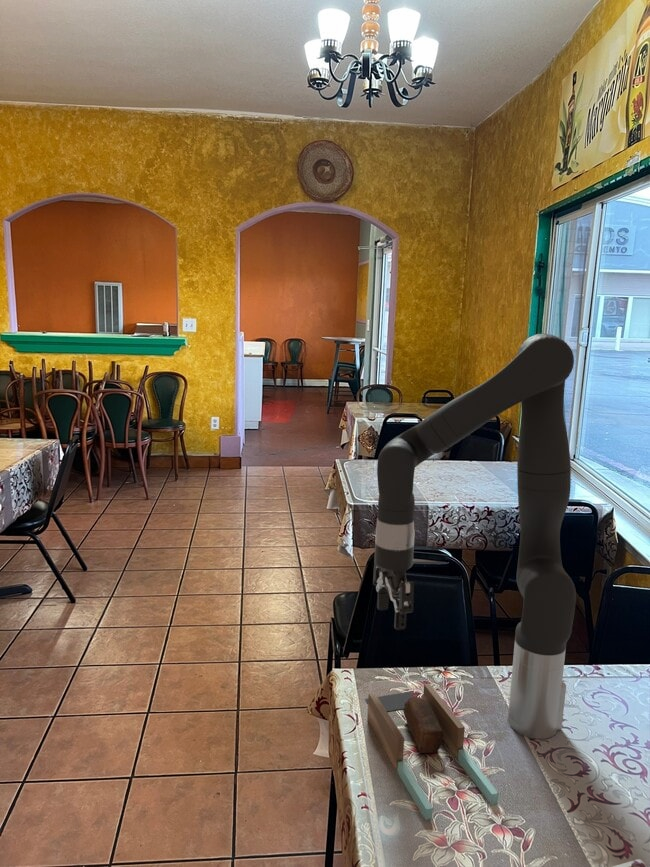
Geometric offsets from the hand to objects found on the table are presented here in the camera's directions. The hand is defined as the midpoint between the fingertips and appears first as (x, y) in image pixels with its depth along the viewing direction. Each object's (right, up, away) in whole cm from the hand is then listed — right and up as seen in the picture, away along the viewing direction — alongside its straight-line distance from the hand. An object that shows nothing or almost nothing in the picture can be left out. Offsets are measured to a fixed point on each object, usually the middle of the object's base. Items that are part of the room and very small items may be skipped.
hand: (391, 618), depth 128 cm
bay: (+7, -23, -20) cm, 31 cm away
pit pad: (+1, -18, +3) cm, 18 cm away
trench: (+3, -20, -8) cm, 22 cm away
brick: (+3, -20, -6) cm, 21 cm away
